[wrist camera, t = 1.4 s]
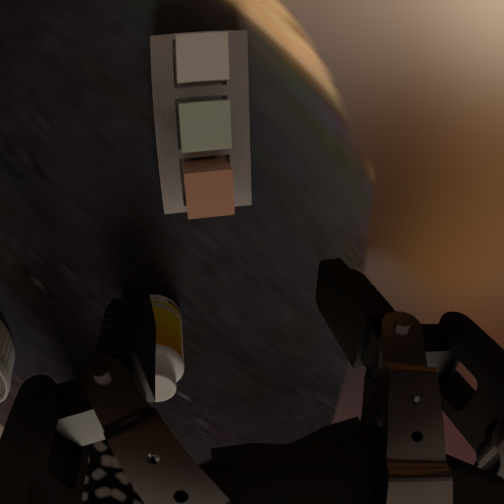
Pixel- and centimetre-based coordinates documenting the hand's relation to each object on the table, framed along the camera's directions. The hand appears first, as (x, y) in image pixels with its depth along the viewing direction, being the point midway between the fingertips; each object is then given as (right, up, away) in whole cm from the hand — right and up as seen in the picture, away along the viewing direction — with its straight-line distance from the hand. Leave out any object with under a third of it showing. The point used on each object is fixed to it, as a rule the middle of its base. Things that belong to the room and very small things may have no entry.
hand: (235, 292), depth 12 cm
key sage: (-3, +11, +11) cm, 16 cm away
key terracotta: (-3, +7, +13) cm, 15 cm away
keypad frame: (-4, +12, +13) cm, 18 cm away
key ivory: (-3, +15, +8) cm, 18 cm away
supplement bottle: (-10, -5, +21) cm, 24 cm away
